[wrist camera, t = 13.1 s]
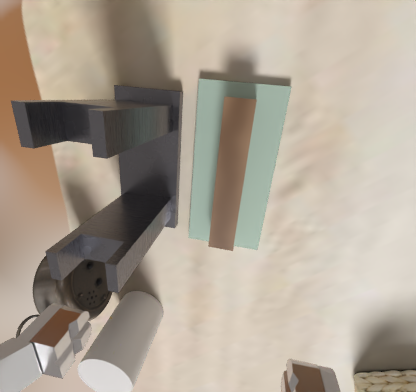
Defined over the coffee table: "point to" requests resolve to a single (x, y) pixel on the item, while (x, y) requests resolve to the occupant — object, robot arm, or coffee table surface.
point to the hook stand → (129, 172)
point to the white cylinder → (122, 344)
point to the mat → (256, 162)
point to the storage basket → (386, 381)
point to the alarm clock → (72, 289)
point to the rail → (231, 169)
